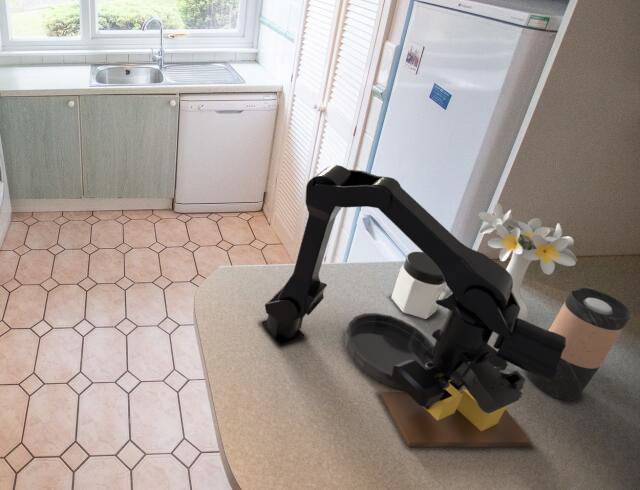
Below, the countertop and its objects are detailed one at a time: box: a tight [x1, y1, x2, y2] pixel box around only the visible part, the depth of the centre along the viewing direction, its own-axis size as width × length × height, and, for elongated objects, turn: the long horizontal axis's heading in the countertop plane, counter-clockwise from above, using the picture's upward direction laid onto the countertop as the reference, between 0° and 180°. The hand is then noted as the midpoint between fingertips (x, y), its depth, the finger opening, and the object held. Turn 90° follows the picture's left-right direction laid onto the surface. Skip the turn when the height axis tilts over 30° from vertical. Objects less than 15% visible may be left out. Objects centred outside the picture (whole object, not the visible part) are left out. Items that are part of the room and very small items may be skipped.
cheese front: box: [457, 388, 508, 431], centre depth 77 cm, size 4×4×4 cm
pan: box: [343, 312, 435, 391], centre depth 90 cm, size 16×16×3 cm
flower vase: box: [478, 202, 579, 321], centre depth 96 cm, size 13×18×25 cm
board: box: [380, 391, 532, 448], centre depth 78 cm, size 20×9×1 cm, turn 90°
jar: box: [391, 251, 447, 320], centre depth 101 cm, size 9×8×12 cm
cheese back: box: [424, 382, 463, 421], centre depth 76 cm, size 4×4×4 cm
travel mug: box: [528, 287, 631, 401], centre depth 81 cm, size 8×8×20 cm
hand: (434, 403), depth 77 cm, fingers closed on cheese back, 4 cm apart
